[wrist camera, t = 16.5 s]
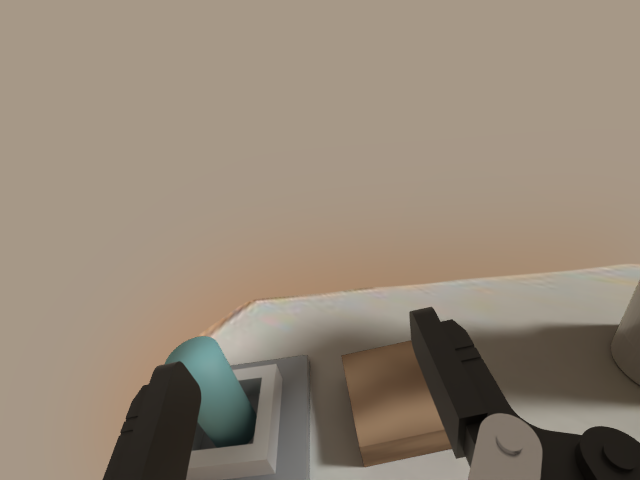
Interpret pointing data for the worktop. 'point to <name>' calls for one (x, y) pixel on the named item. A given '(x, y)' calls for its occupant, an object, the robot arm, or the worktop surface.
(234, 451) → the socket base
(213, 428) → the peg
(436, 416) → the stand
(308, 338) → the worktop surface
